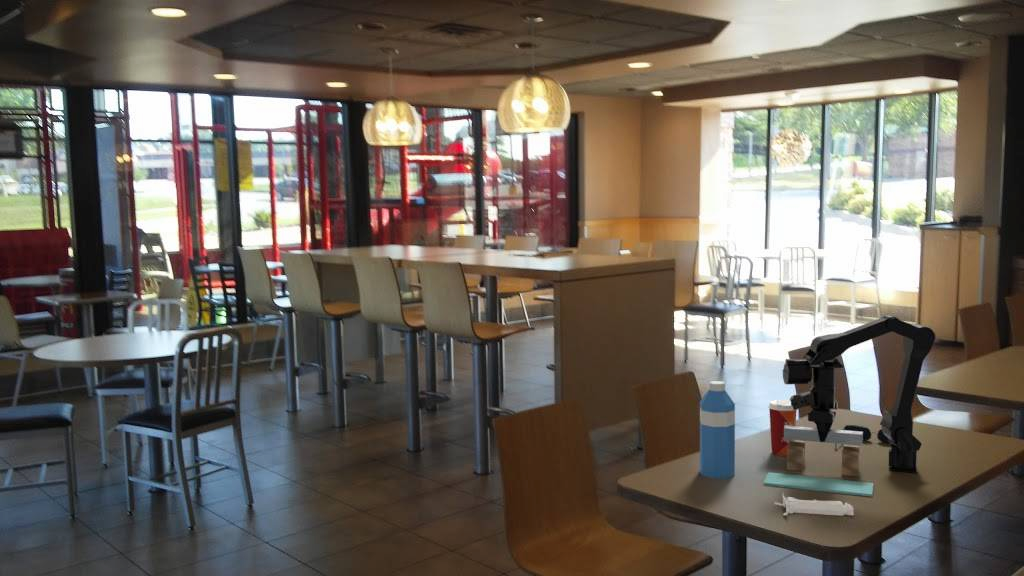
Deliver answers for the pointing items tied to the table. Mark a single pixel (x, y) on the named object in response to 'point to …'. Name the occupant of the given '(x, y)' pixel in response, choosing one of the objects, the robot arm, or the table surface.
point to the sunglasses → (866, 433)
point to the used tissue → (816, 507)
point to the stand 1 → (796, 455)
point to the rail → (832, 437)
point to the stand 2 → (850, 460)
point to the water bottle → (717, 432)
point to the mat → (819, 484)
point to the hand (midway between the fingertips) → (822, 440)
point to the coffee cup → (780, 424)
